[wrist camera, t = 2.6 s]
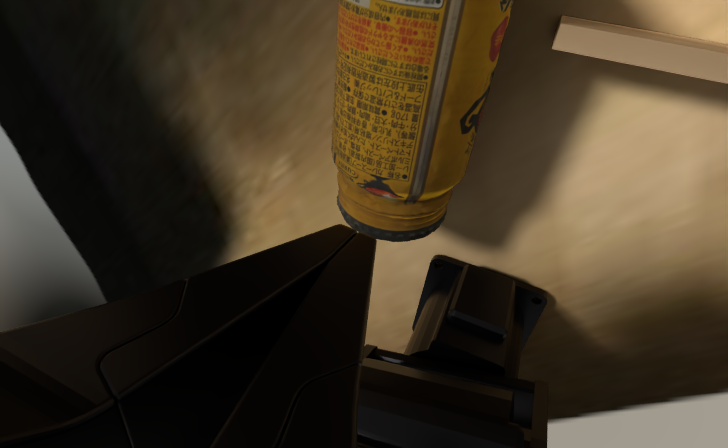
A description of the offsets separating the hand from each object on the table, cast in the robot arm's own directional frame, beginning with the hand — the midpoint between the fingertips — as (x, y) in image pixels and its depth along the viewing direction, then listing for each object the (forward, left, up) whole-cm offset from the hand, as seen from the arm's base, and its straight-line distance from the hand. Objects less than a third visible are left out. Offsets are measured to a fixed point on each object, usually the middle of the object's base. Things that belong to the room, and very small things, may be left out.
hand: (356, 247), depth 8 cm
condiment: (+7, +3, -9) cm, 12 cm away
